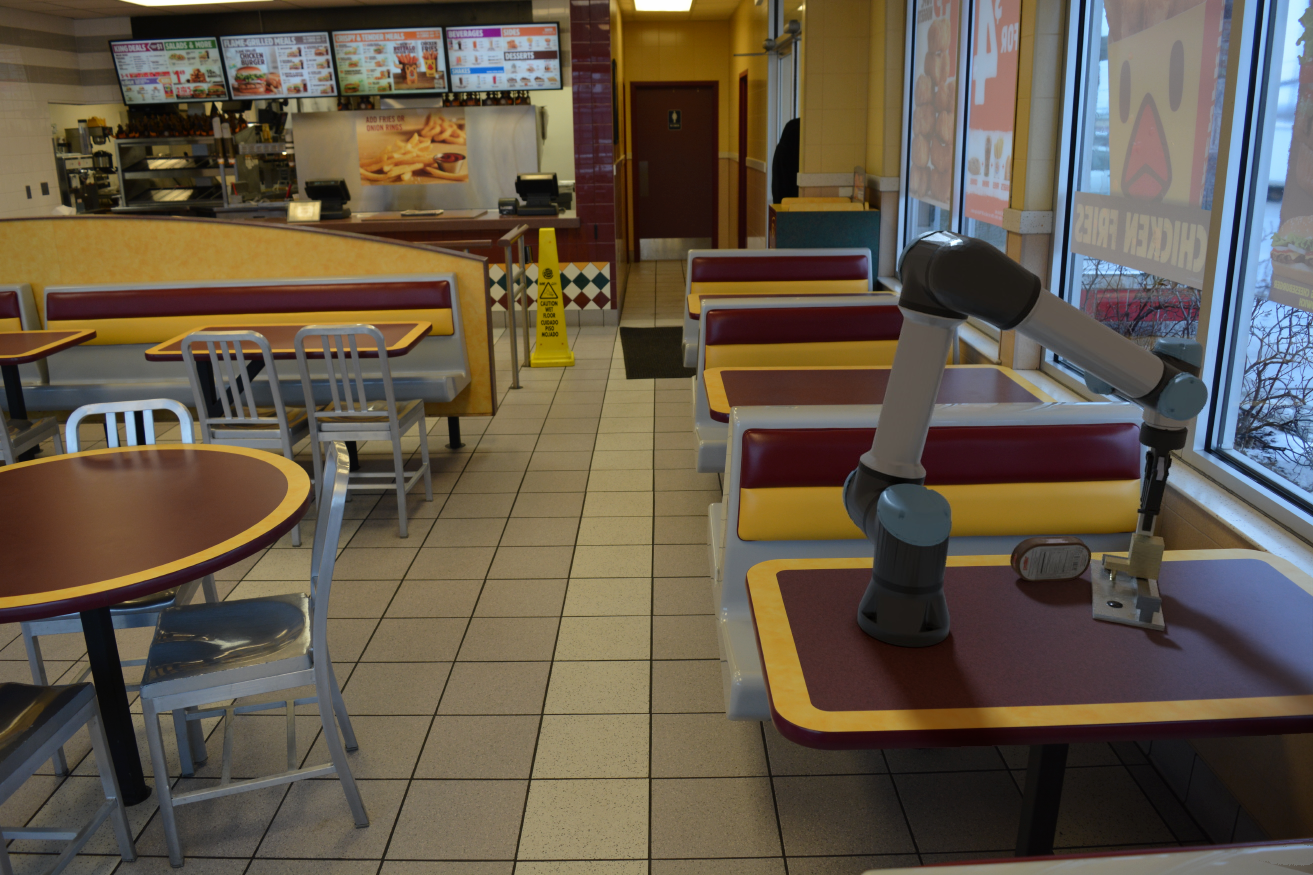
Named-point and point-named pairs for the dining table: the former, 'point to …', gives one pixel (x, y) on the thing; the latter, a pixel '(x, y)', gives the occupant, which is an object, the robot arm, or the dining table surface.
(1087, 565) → the tin
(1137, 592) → the grey slide rail base
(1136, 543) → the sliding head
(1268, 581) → the dining table surface
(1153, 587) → the bolt plate
